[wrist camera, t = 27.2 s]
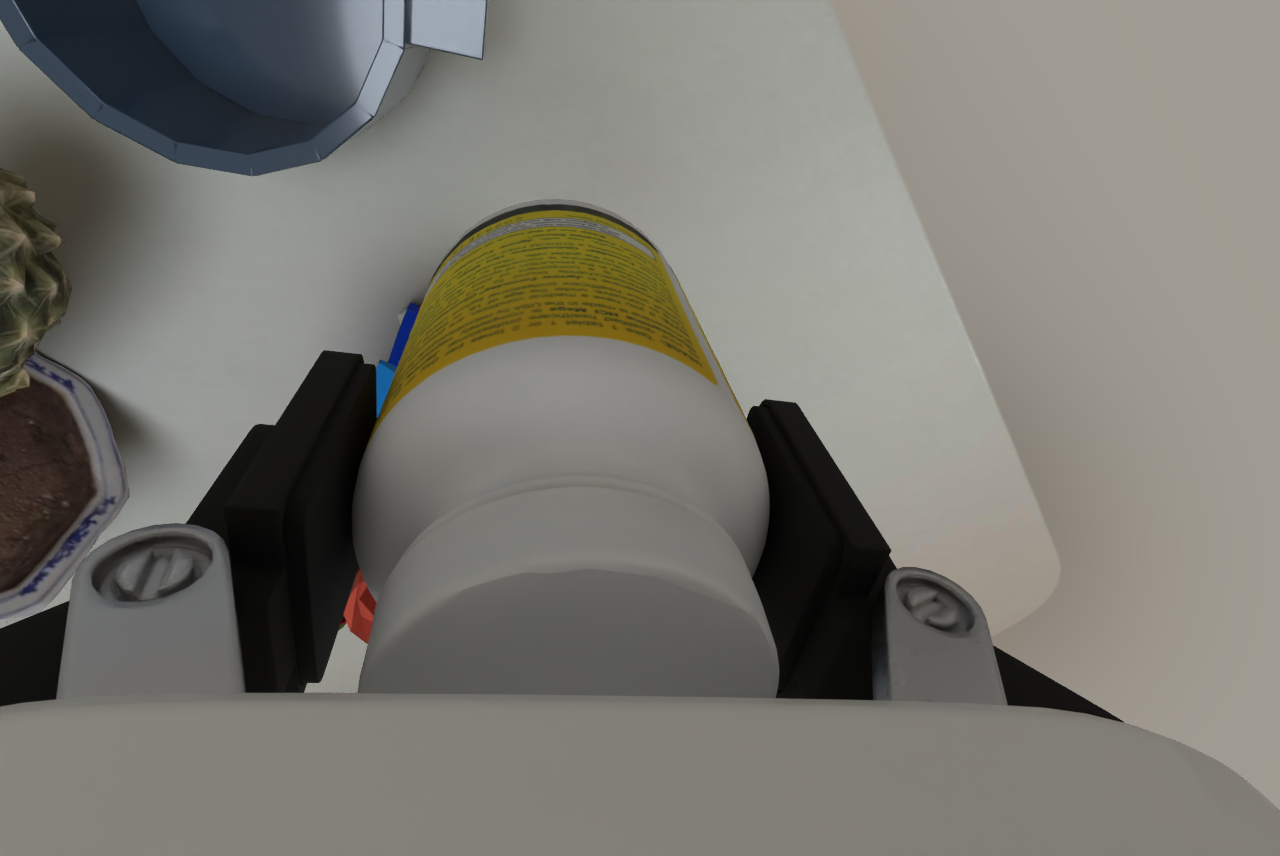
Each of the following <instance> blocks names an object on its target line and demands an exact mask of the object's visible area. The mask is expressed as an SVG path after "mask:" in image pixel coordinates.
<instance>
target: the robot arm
mask: <svg viewBox="0 0 1280 856" xmlns="http://www.w3.org/2000/svg"><path fill="white" fill-rule="evenodd" d="M376 421H377V389H376V367H375V365H373V364H364V359H363V356H362V354H353V353H344V352H335V351H326V350H324V351H323V352H322V353H321V355H320V356H319V358H318V359H317V361H316V362H315V364H314V366H313V367H312V369H311V370H310V372H309V373H308V375H307V377H306V378H305V380H304V381H303V383H302V384H301V386H300V388H299V389H298V391H297V392H296V394H295V395H294V397H293V398H292V400H291V402H290V403H289V405H288V406H287V408H286V409H285V411H284V413H283V414H282V416H281V417H280V419H279V420H278V422H277V424H276V425H264V424H258V425H255V426H254V427H253V428H252V429H251V430H250V432H249V433H248V434H247V436H246V437H245V439H244V440H243V442H242V443H241V445H240V446H239V447H238V449H237V450H236V452H235V453H234V455H233V456H232V458H231V459H230V460H229V462H228V463H227V465H226V466H225V468H224V469H223V471H222V472H221V474H220V475H219V476H218V478H217V479H216V481H215V482H214V484H213V485H212V487H211V488H210V489H209V491H208V492H207V494H206V495H205V497H204V498H203V500H202V501H201V502H200V504H199V505H198V507H197V508H196V510H195V511H194V513H193V514H192V516H191V517H190V518H189V520H188V521H187V523H186V524H179V523H175V524H162V525H153V526H149V527H145V528H141V529H136V530H132V531H130V532H127V533H125V534H122V535H120V536H118V537H115V538H113V539H110V540H109V541H107V542H106V543H104V544H102V545H101V546H99V547H98V548H96V549H95V550H93V551H92V552H91V553H90V554H89V555H88V556H87V557H86V558H85V559H84V560H83V561H82V562H81V563H80V564H79V565H78V567H77V570H76V572H75V575H74V577H73V580H72V586H71V593H70V601H68V602H65V603H63V604H60V605H58V606H55V607H53V608H50V609H48V610H45V611H43V612H40V613H38V614H35V615H33V616H30V617H28V618H25V619H23V620H21V621H18V622H16V623H13V624H11V625H8V626H6V627H3V628H1V629H0V856H1280V810H1278V809H1277V808H1276V807H1275V806H1274V805H1273V804H1272V803H1271V802H1270V801H1269V800H1268V799H1267V798H1266V797H1265V796H1264V795H1263V794H1261V793H1260V792H1259V791H1258V790H1257V789H1256V788H1254V787H1253V786H1252V785H1251V784H1250V783H1248V782H1247V781H1246V780H1245V779H1244V778H1242V777H1241V776H1240V775H1239V774H1237V773H1236V772H1234V771H1233V770H1232V769H1230V768H1228V767H1227V766H1225V765H1224V764H1222V763H1221V762H1219V761H1217V760H1215V759H1213V758H1211V757H1209V756H1207V755H1205V754H1204V753H1202V752H1199V751H1197V750H1196V749H1193V748H1191V747H1189V746H1187V745H1185V744H1182V743H1180V742H1178V741H1176V740H1173V739H1170V738H1167V737H1165V736H1161V735H1159V734H1156V733H1153V732H1150V731H1147V730H1145V729H1142V728H1139V727H1136V726H1134V725H1130V724H1127V723H1124V722H1123V721H1122V720H1120V719H1118V718H1117V717H1115V716H1113V715H1112V714H1110V713H1109V712H1107V711H1105V710H1103V709H1102V708H1100V707H1098V706H1097V705H1095V704H1093V703H1091V702H1090V701H1088V700H1086V699H1085V698H1083V697H1081V696H1080V695H1078V694H1076V693H1074V692H1072V691H1071V690H1069V689H1067V688H1066V687H1064V686H1062V685H1061V684H1059V683H1057V682H1055V681H1054V680H1052V679H1050V678H1048V677H1047V676H1045V675H1043V674H1042V673H1040V672H1038V671H1036V670H1035V669H1033V668H1031V667H1029V666H1028V665H1026V664H1024V663H1023V662H1021V661H1019V660H1017V659H1016V658H1014V657H1012V656H1010V655H1009V654H1007V653H1005V652H1003V651H1002V650H1000V649H998V648H997V647H995V646H993V644H992V640H991V636H990V632H989V628H988V624H987V620H986V617H985V615H984V613H983V611H982V608H981V607H980V606H979V604H978V603H977V602H976V601H975V599H974V598H973V597H972V596H971V595H970V594H969V593H968V592H966V591H965V590H964V589H963V588H962V587H961V586H959V585H958V584H956V583H954V582H953V581H951V580H949V579H948V578H946V577H944V576H942V575H939V574H937V573H935V572H932V571H930V570H925V569H921V568H917V567H902V568H899V569H897V568H896V566H895V565H894V563H893V562H892V560H891V558H890V557H889V554H890V552H891V549H890V547H889V546H888V544H887V543H886V541H885V540H884V538H883V537H882V535H881V533H880V532H879V530H878V529H877V527H876V526H875V524H874V523H873V521H872V519H871V518H870V516H869V515H868V513H867V512H866V510H865V509H864V507H863V505H862V504H861V502H860V501H859V499H858V498H857V496H856V495H855V493H854V491H853V490H852V488H851V487H850V485H849V484H848V482H847V481H846V479H845V477H844V476H843V474H842V473H841V471H840V470H839V468H838V467H837V465H836V463H835V462H834V460H833V459H832V457H831V456H830V454H829V453H828V451H827V450H826V448H825V446H824V445H823V443H822V442H821V440H820V439H819V437H818V436H817V434H816V432H815V431H814V429H813V428H812V426H811V425H810V423H809V422H808V420H807V418H806V417H805V415H804V414H803V412H802V411H801V409H800V408H799V406H798V405H797V404H796V403H793V402H784V401H775V400H766V399H765V400H764V401H762V403H761V404H760V406H753V407H752V408H751V409H750V411H749V414H748V417H747V422H748V424H749V426H750V428H751V430H752V432H753V435H754V438H755V440H756V443H757V446H758V449H759V452H760V454H761V457H762V461H763V464H764V467H765V471H766V475H767V481H768V487H769V497H770V517H769V526H768V533H767V538H766V544H765V547H764V550H763V553H762V556H761V558H760V561H759V564H758V567H757V569H756V571H755V573H754V575H753V577H752V580H753V583H754V585H755V588H756V590H757V593H758V595H759V598H760V600H761V603H762V605H763V608H764V612H765V615H766V618H767V621H768V624H769V627H770V630H771V633H772V636H773V639H774V642H775V645H776V648H777V655H778V663H779V682H778V689H777V694H776V698H732V697H666V696H595V695H519V694H403V693H304V691H305V688H306V685H307V683H319V682H320V681H321V680H322V678H323V675H324V672H325V669H326V666H327V663H328V660H329V657H330V654H331V651H332V648H333V645H334V642H335V639H336V636H337V633H338V630H339V626H340V623H341V620H342V617H343V614H344V611H345V608H346V605H347V602H348V599H349V596H350V593H351V590H352V587H353V584H354V581H355V578H356V574H357V571H358V568H359V565H358V562H357V559H356V554H355V550H354V545H353V536H352V501H353V493H354V489H355V485H356V480H357V475H358V470H359V466H360V463H361V460H362V458H363V455H364V452H365V449H366V447H367V444H368V441H369V439H370V436H371V433H372V431H373V428H374V426H375V423H376Z"/></svg>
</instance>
